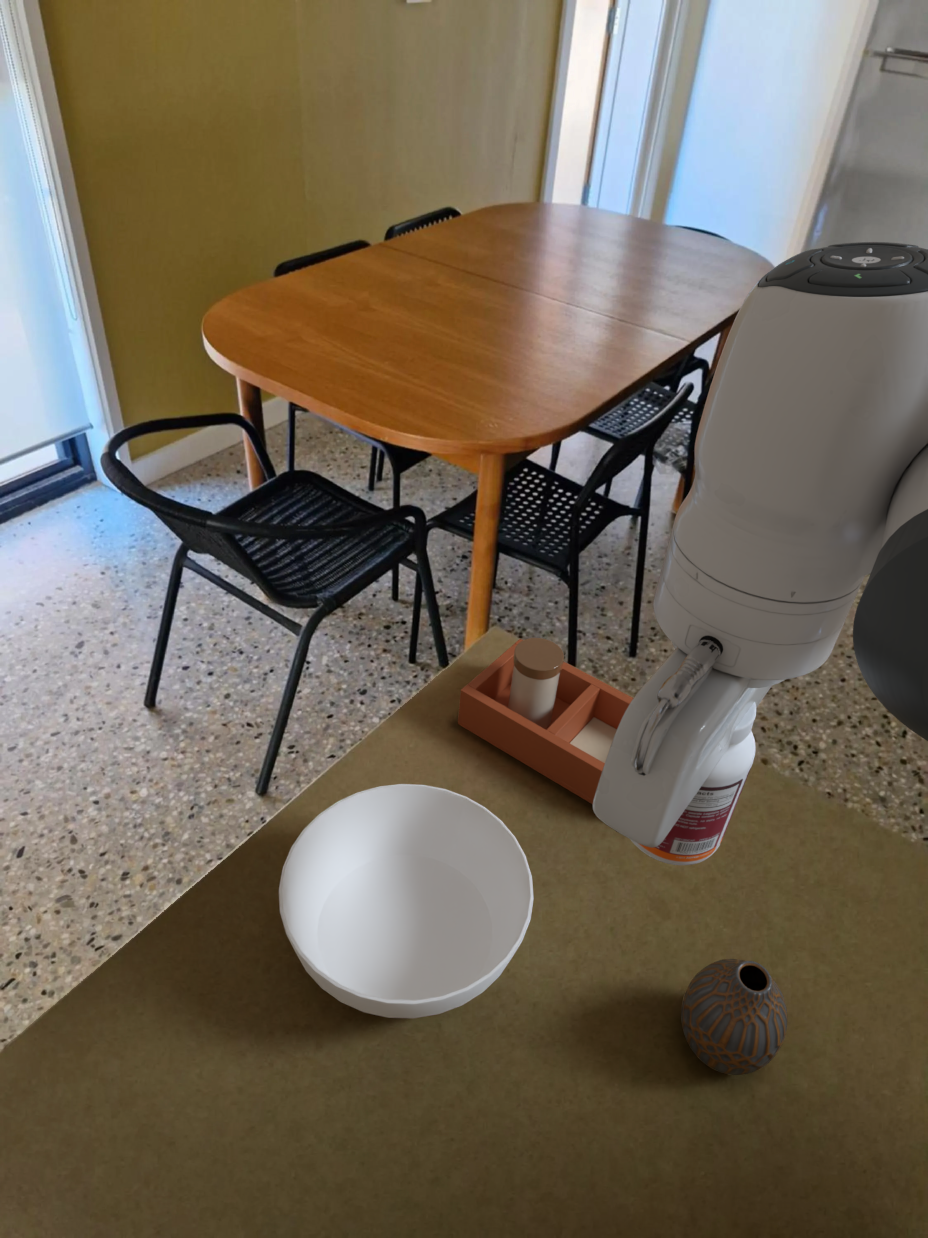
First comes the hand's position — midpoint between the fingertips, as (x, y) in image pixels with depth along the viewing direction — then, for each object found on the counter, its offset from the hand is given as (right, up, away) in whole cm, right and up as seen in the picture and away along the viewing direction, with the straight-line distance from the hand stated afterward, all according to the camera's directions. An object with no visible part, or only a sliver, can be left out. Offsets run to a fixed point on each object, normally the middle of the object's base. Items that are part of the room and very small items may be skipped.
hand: (685, 781), depth 52 cm
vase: (+5, -21, +12) cm, 25 cm away
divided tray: (-3, -2, +34) cm, 34 cm away
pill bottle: (0, -3, +3) cm, 4 cm away
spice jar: (-7, 0, +35) cm, 36 cm away
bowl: (-18, -15, +17) cm, 29 cm away
